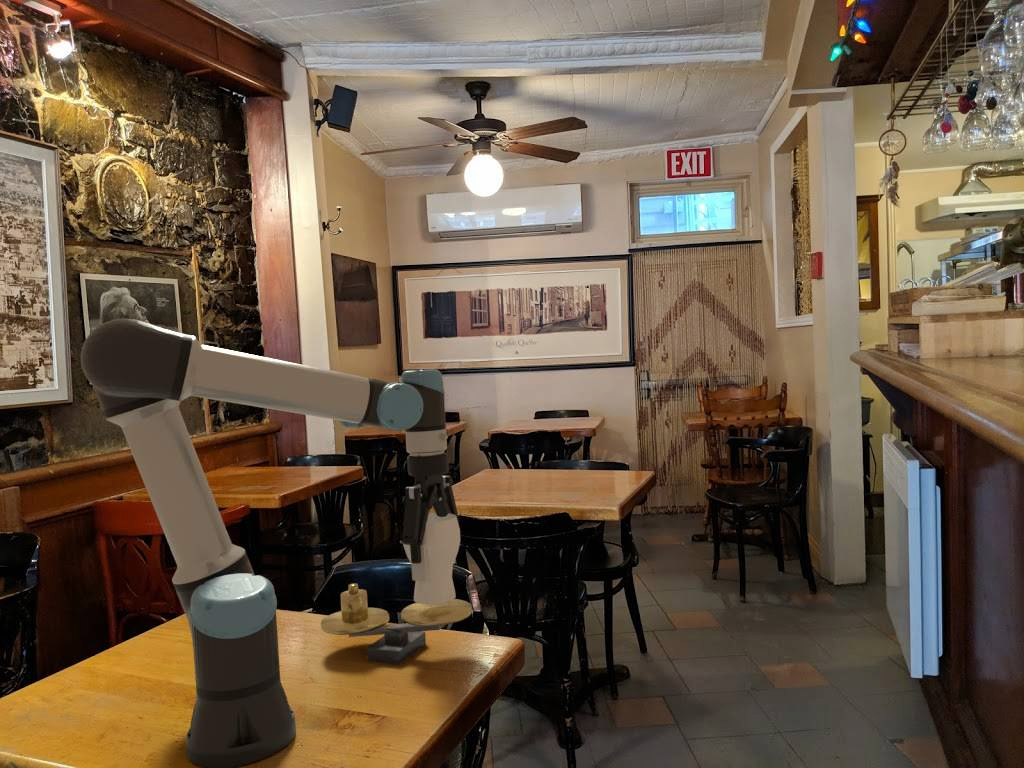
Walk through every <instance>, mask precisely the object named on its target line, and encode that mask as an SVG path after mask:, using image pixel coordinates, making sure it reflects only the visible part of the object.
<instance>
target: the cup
mask: <svg viewBox="0 0 1024 768" xmlns="http://www.w3.org/2000/svg"><path fill="white" fill-rule="evenodd" d="M422 544H426V559H427V575H428V580H427V581H415V584H414V593H413V601H414V602H415V603H421V604H439V603H444V602H448V601H451V600H453V599H456V589H455V586H454V581H453V568H454V567H453V565H454V564H453V563H454V560H455V561H456V558H457V555H458V552H459V549H460V544H461V529H460V525H459V522H458V521H457V517H456V515H454V514H448V515H447V516H446V517H439V516H437V515H436V512H432V513H431V512H430V513H429V514H428V519H427V522H426V528H425V533H424V538H423V543H422ZM402 545H403V548H404V550H405V551H404V552H405V554H406V557H407V559H408V560H409V562H410V563H411V551H410V545H405V544H403V543H402Z"/></svg>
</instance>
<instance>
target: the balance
mask: <svg viewBox="0 0 1024 768" xmlns="http://www.w3.org/2000/svg"><path fill="white" fill-rule="evenodd" d="M367 592H368V591H367V590H366V589H362V588H361V589H359V585H358V583H350V584H348V590H345V591H343V592H341V593H340V607H341V609H340V611H337V612H334V613H331V614H329V615H327V616H325V617H324V618H323V619H322V620H321V621H320V628H321V630H322V631H323V632H324V633H327V634H329V635H330V634H331V635H336V636H337V635H339V636H344V635H346V636H348V637H349V638H354V637H367V636H368V637H369V636H378V635H379V636H380V635H382V637H380V638H378V639H377V640H376V641H374V642H372V643H371V644H369V645H368V646H367V647H366V649H365V650H366V661H367V662H376V663H386V664H393V665H394V664H395V665H401V664H402V663H403V662H405V661H406V660H407V659H409V658H410V657H411V656H412V655H414V654H415V653H417V652H418V651H419V650H420V649H422V648H423V647H424V646H425V645H427V639H426V637H427V636H426V632H430V631H440V630H441V629H442V628H444V627H446V625H451V624H454V623H457V622H461V621H463V620H465V619H467V618H468V617H470V616H471V614H472V612H473V611H472V609H473V608H472V605H471V603H470V602H468V601H466V600H462V599H457V598H454V599H453V600H451V601H448V602H444V603H439V604H421V603H417V602H415V603H412V604H410V605H407V606H406V607H404V608H403V609H402V610H401V613H400V615H401V617H400V618H401V620H402V621H403V623H396V624H395V623H394V624H388V623H389V621H390V614H389V612H388V611H387V610H385V609H382V608H378V607H368V593H367ZM424 644H425V645H424ZM423 645H424V646H423ZM422 646H423V647H422ZM421 647H422V648H421ZM419 648H420V649H419ZM418 649H419V650H418ZM417 650H418V651H417ZM413 653H414V654H413Z"/></svg>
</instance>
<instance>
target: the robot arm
mask: <svg viewBox="0 0 1024 768" xmlns="http://www.w3.org/2000/svg"><path fill="white" fill-rule="evenodd" d="M80 365H81V369H82V371H83V374H84V376H85V377H86V379H87V380H88V382H89V383H90V384H91V385H92V389H93V390H94V392H95V396H96V398H97V399H98V402H99V404H100V407H101V410H102V413H103V414H104V417H105V419H106V421H108V422H110V423H112V424H114V425H117V426H119V427H120V428H121V429H122V430H121V431H122V433H123V435H124V437H125V439H126V442H127V444H128V447H129V449H130V451H131V454H132V457H133V460H134V462H135V464H136V467H137V469H138V471H139V474H140V476H141V480H142V483H143V484H144V487H145V489H146V491H147V494H148V497H149V499H150V501H151V503H152V506H153V509H154V511H155V514H156V516H157V519H158V520H159V523H160V526H161V528H162V531H163V533H164V536H165V538H166V540H167V541H166V542H167V544H168V545H169V546H168V547H169V549H170V552H171V554H172V556H173V558H174V561H175V563H176V565H177V567H176V570H175V572H174V573H173V574H174V575H173V576H172V579H171V581H172V584H173V586H174V589H175V591H176V594H177V597H178V599H179V602H180V604H181V606H182V608H183V612H184V614H185V616H186V619H187V622H188V626H189V630H190V635H191V639H192V648H193V649H192V650H193V663H194V678H195V691H196V696H195V697H196V699H195V703H194V708H193V711H192V715H191V721H190V724H189V725H190V727H189V729H188V731H187V733H186V740H185V743H186V745H185V746H186V747H185V748H186V756H187V759H188V761H190V762H191V763H192V764H194V765H196V766H199V767H201V768H202V767H203V768H234V767H241V766H244V765H249V764H252V763H255V762H258V761H261V760H264V759H267V758H268V757H271V756H273V755H275V754H276V753H278V752H279V751H281V750H283V749H284V748H286V747H287V746H288V745H289V744H290V743H291V742H292V741H293V739H294V738H295V736H296V732H297V727H296V726H297V724H296V716H295V713H294V712H295V711H294V710H293V708H292V707H291V706H290V704H289V701H288V698H287V694H286V692H285V689H284V687H283V684H282V681H281V669H280V668H281V667H280V654H279V653H280V652H279V651H280V650H279V639H278V636H279V635H278V621H277V606H278V601H277V596H276V594H275V588H274V585H273V583H272V581H270V580H269V579H268V578H266V577H264V576H263V575H260V574H258V575H255V572H254V570H253V567H252V564H251V562H250V560H249V556H248V555H247V552H246V549H245V548H243V547H242V546H238V545H236V544H233V543H232V540H231V538H230V535H229V533H228V531H227V529H226V526H225V523H224V521H223V517H222V515H221V513H220V510H219V507H218V505H217V503H216V500H215V497H214V495H213V492H212V490H211V487H210V486H209V482H208V479H207V477H206V474H205V472H204V470H203V467H202V464H201V462H200V459H199V457H198V453H197V452H196V449H195V445H194V444H193V442H192V441H193V440H192V439H191V437H190V433H189V432H188V429H187V426H186V423H185V421H184V419H183V416H182V412H181V410H180V404H181V402H182V401H184V400H186V399H188V398H189V397H197V398H201V399H202V398H203V399H209V400H214V401H215V400H216V401H220V402H225V403H226V402H227V403H232V404H238V405H245V406H252V407H257V408H261V409H262V408H263V409H267V410H269V409H270V410H274V411H275V410H276V411H281V412H287V413H293V414H299V415H304V416H311V417H317V418H324V419H329V420H335V421H339V423H340V425H341V426H342V427H343V428H348V429H349V428H351V429H352V428H353V429H354V428H356V429H360V428H364V427H365V428H366V427H372V428H373V427H374V428H380V429H388V430H391V431H396V432H400V431H405V447H406V449H405V450H406V451H405V452H407V453H408V454H409V455H408V456H407V457H406V462H407V473H408V475H409V476H410V477H413V478H414V485H413V486H406V487H405V490H404V491H405V492H404V493H405V507H404V516H403V518H404V519H403V528H402V538H401V541H402V545H403V544H405V545H410V551H411V562H410V565H411V579H412V581H414V582H416V581H427V580H428V575H427V559H426V544H422V543H423V538H424V533H425V528H426V522H427V519H428V514H430V510H431V509H433V510H434V511H435V512H434V513H436V515H437V516H439V517H446V516H447V515H448V514H454V515H456V517H457V521H458V523H460V517H459V513H458V508H457V505H456V500H455V499H456V498H455V495H454V491H453V485H452V484H453V483H452V481H453V480H452V476H451V475H446V474H447V473H448V472H449V471H450V469H449V468H450V467H449V466H450V465H449V455H448V453H447V452H445V451H446V450H447V449H448V442H447V439H448V438H449V436H448V434H447V427H446V426H447V425H446V408H445V407H446V406H445V403H446V402H445V394H446V392H445V385H444V380H443V375H442V373H441V371H440V370H439V369H436V368H433V369H420V370H419V369H418V370H405V371H403V372H402V373H401V379H400V381H395V382H390V381H385V380H380V379H376V378H368V377H365V376H362V375H357V374H356V375H355V374H351V373H346V372H345V373H344V372H340V371H335V370H330V369H326V368H319V367H315V366H310V365H306V364H302V363H301V364H299V363H295V362H290V361H285V360H281V359H276V358H275V359H274V358H271V357H265V356H261V355H260V356H259V355H255V354H249V353H246V352H240V351H235V350H230V349H225V348H221V347H215V346H210V345H206V344H202V343H200V341H199V340H198V339H197V337H196V336H195V335H191V334H187V333H186V334H185V333H181V332H177V331H173V330H171V329H167V328H162V327H160V326H157V325H154V324H151V323H148V322H146V321H142V320H138V319H135V318H116V319H111V320H108V321H106V322H104V323H101V324H99V325H98V326H97V327H96V328H94V329H93V330H92V331H91V332H90V333H89V335H87V337H86V338H85V340H84V341H83V344H82V347H81V351H80ZM444 474H445V475H444ZM455 564H456V559H455V560H454V563H453V565H455Z"/></svg>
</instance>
